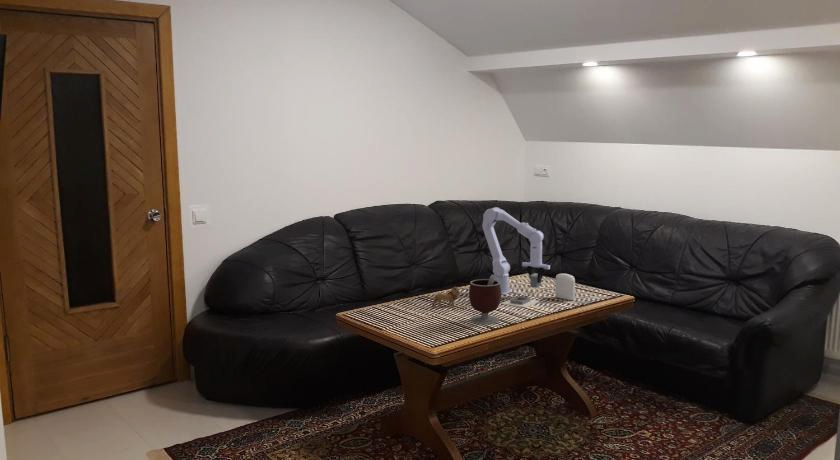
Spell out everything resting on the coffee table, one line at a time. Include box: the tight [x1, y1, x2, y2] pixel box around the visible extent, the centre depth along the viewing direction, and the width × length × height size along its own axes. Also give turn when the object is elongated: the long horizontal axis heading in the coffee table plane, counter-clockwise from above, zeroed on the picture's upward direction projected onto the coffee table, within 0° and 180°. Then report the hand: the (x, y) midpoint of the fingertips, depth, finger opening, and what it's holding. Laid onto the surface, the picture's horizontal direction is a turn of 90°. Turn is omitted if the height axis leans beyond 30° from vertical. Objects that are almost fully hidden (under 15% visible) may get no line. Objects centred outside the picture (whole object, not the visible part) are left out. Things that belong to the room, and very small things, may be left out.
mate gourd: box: [468, 273, 502, 326], centre depth 281 cm, size 16×14×20 cm
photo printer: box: [555, 273, 576, 301], centre depth 318 cm, size 10×4×12 cm, turn 39°
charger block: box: [529, 272, 542, 289], centre depth 323 cm, size 4×5×6 cm
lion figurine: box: [431, 286, 461, 309], centre depth 306 cm, size 15×5×9 cm, turn 112°
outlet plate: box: [500, 296, 540, 309], centre depth 311 cm, size 13×14×2 cm
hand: (535, 281), depth 323 cm, fingers closed on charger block, 3 cm apart
